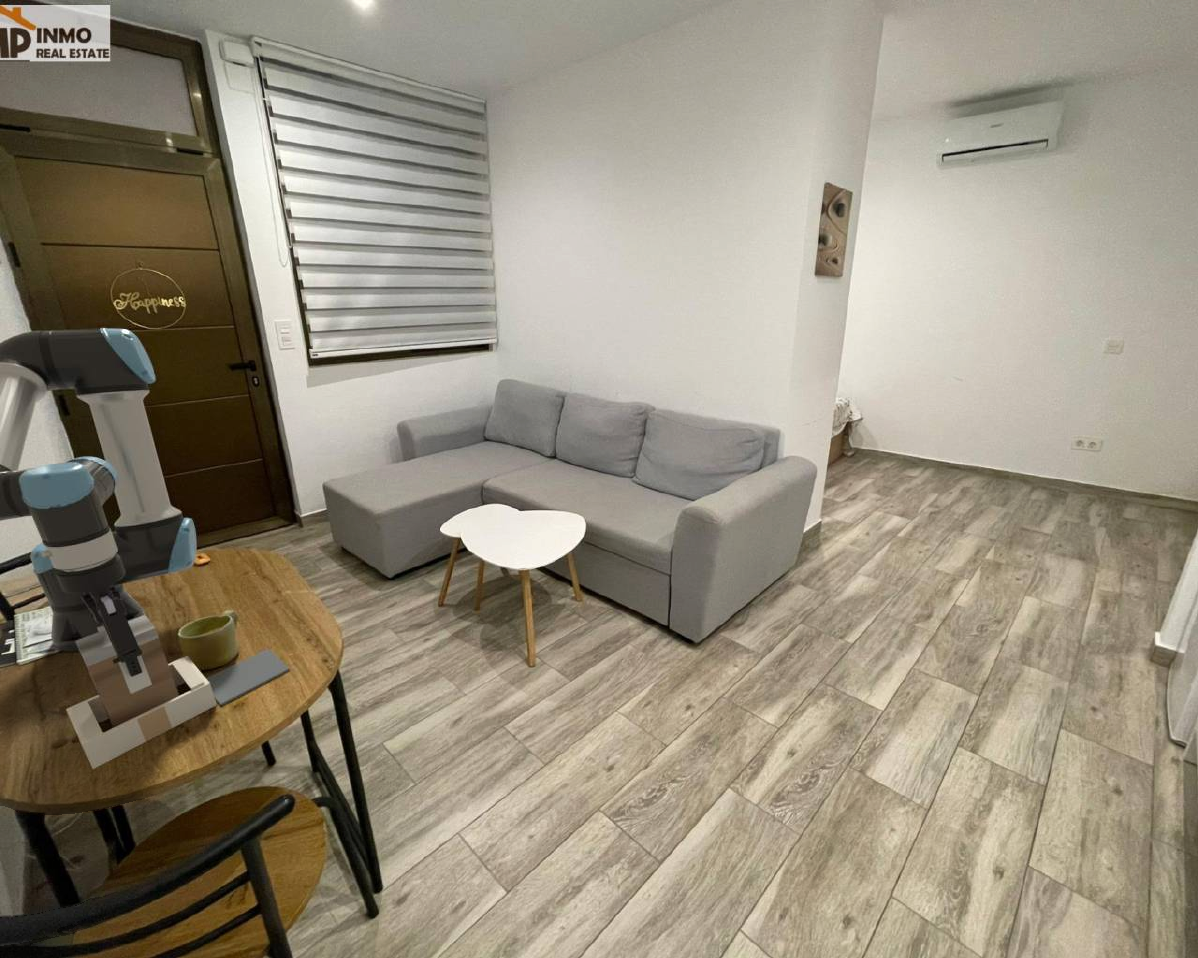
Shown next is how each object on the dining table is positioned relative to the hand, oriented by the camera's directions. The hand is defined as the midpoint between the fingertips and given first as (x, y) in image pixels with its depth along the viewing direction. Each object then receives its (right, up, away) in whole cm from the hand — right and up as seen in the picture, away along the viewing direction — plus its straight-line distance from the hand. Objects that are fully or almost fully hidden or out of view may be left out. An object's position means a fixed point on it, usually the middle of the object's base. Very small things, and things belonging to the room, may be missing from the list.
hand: (129, 671), depth 89 cm
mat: (+11, -6, +14) cm, 18 cm away
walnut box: (0, -10, +4) cm, 11 cm away
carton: (0, -10, +4) cm, 11 cm away
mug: (+1, -4, +20) cm, 21 cm away
